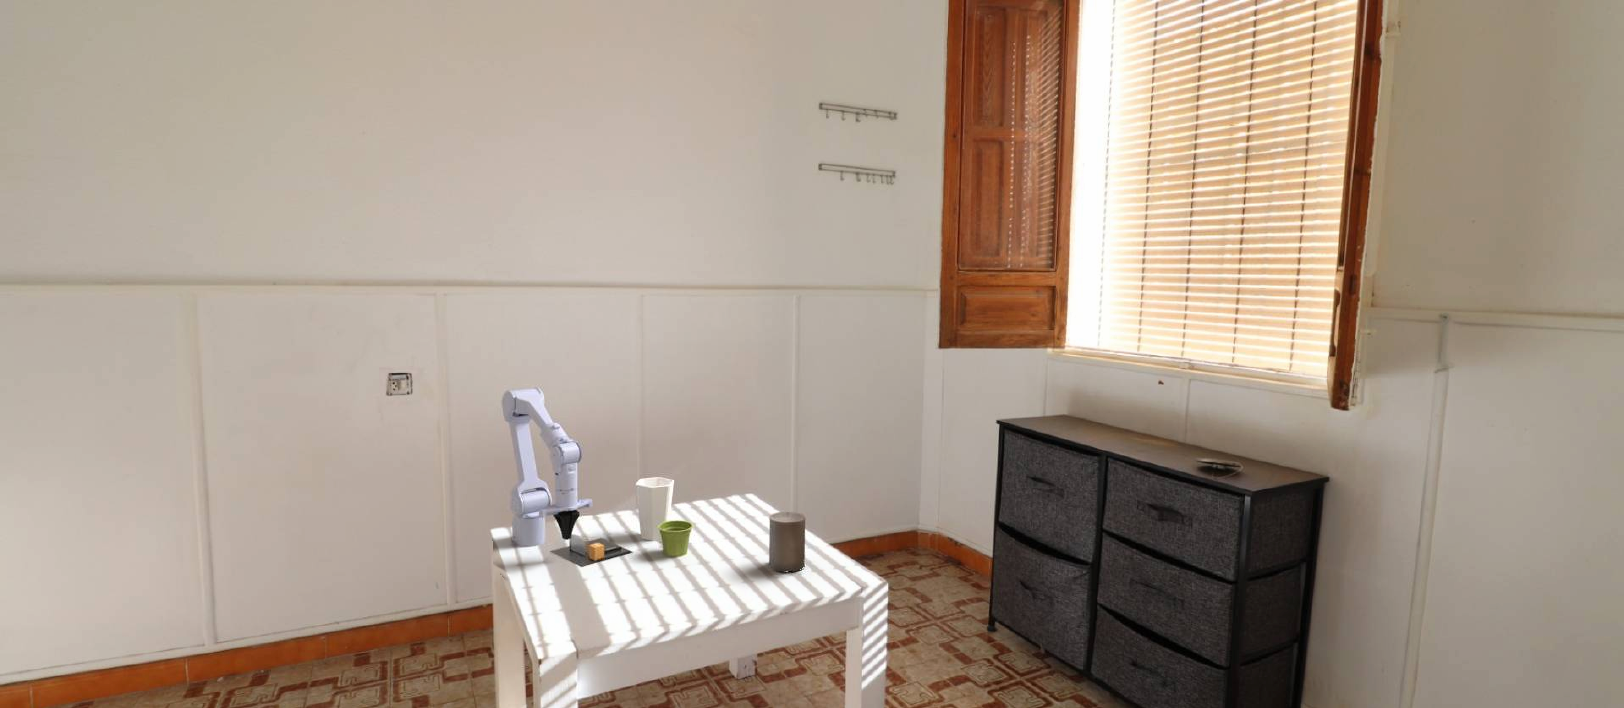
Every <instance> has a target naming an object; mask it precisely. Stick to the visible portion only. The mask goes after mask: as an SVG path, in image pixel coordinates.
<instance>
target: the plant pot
mask: <svg viewBox="0 0 1624 708" xmlns="http://www.w3.org/2000/svg"><path fill="white" fill-rule="evenodd" d="M693 528H694V524H693V523H692V522H691V521H688V520H679V519H678V520H669V521H667V522H663V523H661V524H659V525H658V529H659V530H660V534H661V538H662V542H661V543H662V551H663V555H664V556H666V557H670V558H676V557H678V558H679V557H683V556H685V555H687V554H688V549H689V541H690V535H691V532H692V529H693Z"/></svg>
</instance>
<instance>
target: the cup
mask: <svg viewBox="0 0 1624 708" xmlns="http://www.w3.org/2000/svg"><path fill="white" fill-rule="evenodd" d="M634 484H635V491H636V492H635V493H636V500H637V501H636V502H637V513H638V522H639V529H640V537H641V539H643V540H647V541H656V542H658V543H662V538H661V534H660V530H659V529H658V525H659V524H661V523H663V522H667V521H670V518H671V517H670V515H671V509H672V500H673V493H674V484H675V480H674V479H670V478H665V477H660V476H659V477H657V476H656V477H648V478H647V477H645V478H640V479H638V481H636V483H634Z"/></svg>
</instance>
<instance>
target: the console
mask: <svg viewBox="0 0 1624 708" xmlns="http://www.w3.org/2000/svg"><path fill="white" fill-rule="evenodd" d="M572 535H573V534H572ZM568 540H569V541H568V542H569V546H568V545H567V546H565V547H561V548H556V549H553V550H550V551H549V552H550V553H552V554H555V555H556V556H558V557H560V558H562V559H565V560H567V561H569V562H571V563H573V564H574V565H577V566H579V567H580V568H584V567H588V566H590V565H594V564H596V563H597V564H598V563H601V562H605V561H608V560H612V559H615V558H619V557H623V556H626V555H629V554H633V553H634V551H632V550H630V549H629V548H628V549H627V548H625V547H623V546H621V545H618V544H616V543H614V542H612V541H609V540H607V539H605V538H602V537H600V538H595V539H592V540H588V555H587V556H584V555H582V554H580V553H578V552H576V551H574V550H572V549H571V539H568ZM595 543H600V544H602V545H604V558H600V559H597V560H596V561H595V560H592V559H590V558H589V545H592V544H595Z"/></svg>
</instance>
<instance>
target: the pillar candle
mask: <svg viewBox="0 0 1624 708" xmlns="http://www.w3.org/2000/svg"><path fill="white" fill-rule="evenodd" d="M768 538H769V542H768V543H769V545H768V546H769V547H768V548H769V551H768V554H769V555H768V557H769V558H768V560H769V561H768V562H769V563H768V566H769V568H770V569H771V568H772V569H773V571H775V572H778V571H796V572H799V571H798V570H800V569H802V568H803V567H804V568H805V567H806V566H805V559H806V558H805V557H806V552H805V551H806V515H804V514H803V513H801V512H796V511H778V512H774V513H773V514H771V515H769V537H768ZM772 569H771V570H772ZM802 570H803V569H802ZM800 571H801V570H800Z"/></svg>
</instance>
